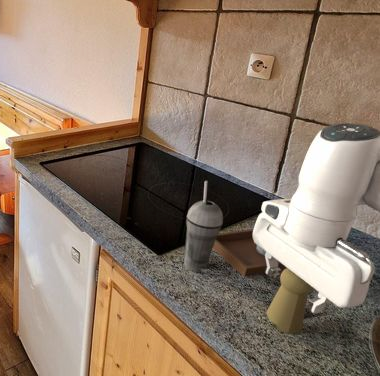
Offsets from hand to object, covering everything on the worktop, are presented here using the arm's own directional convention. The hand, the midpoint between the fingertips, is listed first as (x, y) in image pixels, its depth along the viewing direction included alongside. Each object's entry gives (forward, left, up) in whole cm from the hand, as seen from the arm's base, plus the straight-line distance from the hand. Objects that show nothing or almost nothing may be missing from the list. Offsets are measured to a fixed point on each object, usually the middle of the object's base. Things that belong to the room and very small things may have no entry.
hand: (291, 292), depth 71 cm
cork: (0, 0, -7) cm, 7 cm away
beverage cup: (+6, -19, -7) cm, 21 cm away
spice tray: (-13, -19, -7) cm, 24 cm away
